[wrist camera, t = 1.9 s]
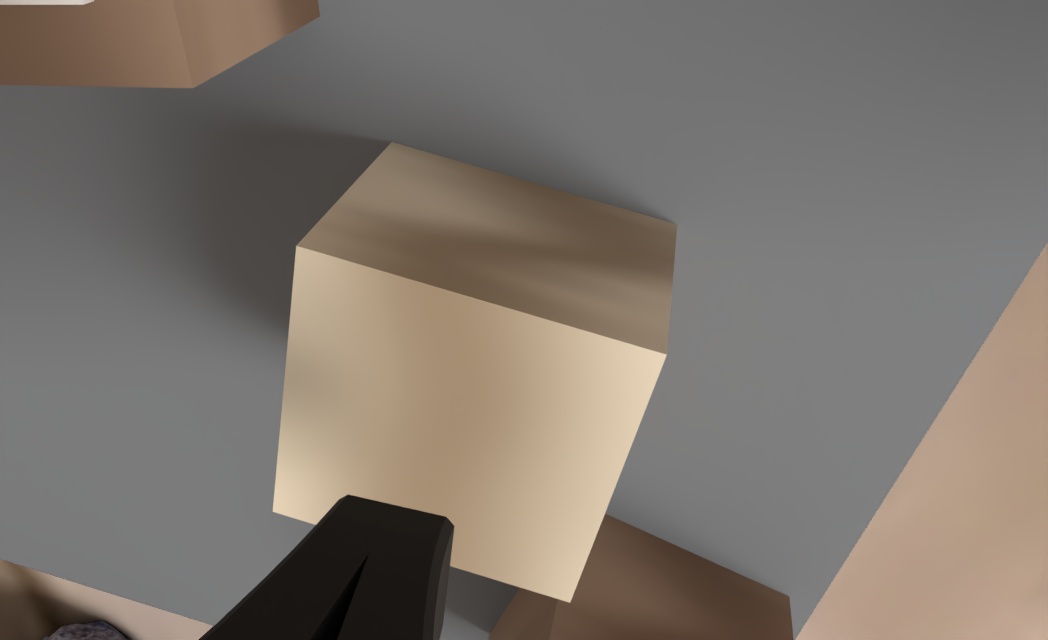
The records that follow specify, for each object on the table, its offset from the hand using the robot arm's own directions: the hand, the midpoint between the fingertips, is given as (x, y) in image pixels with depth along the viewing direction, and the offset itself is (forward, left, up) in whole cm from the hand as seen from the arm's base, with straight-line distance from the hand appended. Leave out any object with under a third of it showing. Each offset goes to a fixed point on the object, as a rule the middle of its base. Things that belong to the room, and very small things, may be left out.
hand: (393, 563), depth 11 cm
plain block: (0, 0, -6) cm, 6 cm away
